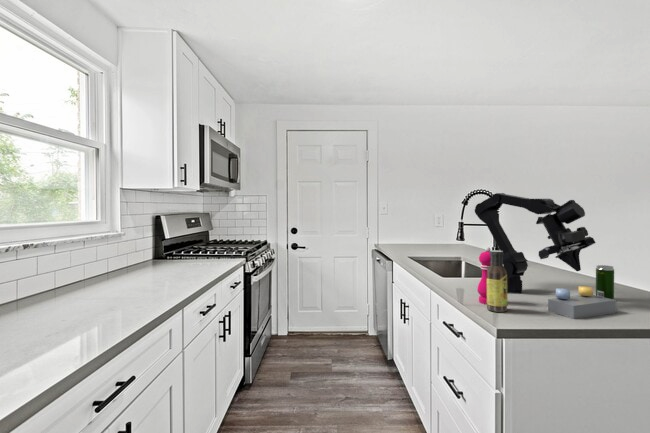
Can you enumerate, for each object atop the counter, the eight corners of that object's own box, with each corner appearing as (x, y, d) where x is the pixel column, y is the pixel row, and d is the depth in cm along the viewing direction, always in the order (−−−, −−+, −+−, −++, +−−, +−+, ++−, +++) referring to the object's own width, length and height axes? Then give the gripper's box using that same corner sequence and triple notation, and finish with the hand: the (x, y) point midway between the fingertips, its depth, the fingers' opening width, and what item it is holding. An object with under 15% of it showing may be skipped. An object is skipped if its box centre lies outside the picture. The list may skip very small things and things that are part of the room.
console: (573, 318, 116) (573, 305, 115) (548, 311, 124) (548, 299, 124) (616, 312, 121) (616, 300, 121) (588, 305, 130) (588, 293, 129)
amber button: (580, 305, 125) (580, 288, 125) (576, 302, 129) (577, 285, 129) (594, 306, 124) (594, 288, 124) (590, 303, 128) (590, 286, 127)
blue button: (557, 308, 122) (557, 290, 122) (554, 305, 126) (554, 288, 126) (571, 309, 121) (571, 291, 121) (568, 306, 125) (568, 288, 124)
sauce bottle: (508, 313, 122) (507, 252, 122) (487, 312, 125) (486, 251, 124) (506, 308, 128) (506, 250, 128) (486, 307, 130) (486, 249, 130)
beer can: (610, 301, 134) (610, 268, 133) (593, 298, 138) (593, 266, 138) (616, 299, 137) (616, 266, 136) (599, 296, 141) (599, 264, 141)
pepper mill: (498, 300, 139) (497, 246, 138) (500, 305, 132) (500, 248, 131) (476, 299, 141) (476, 245, 140) (478, 304, 134) (477, 248, 134)
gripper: (547, 226, 127) (570, 270, 121) (594, 215, 130) (619, 257, 124) (528, 238, 137) (549, 279, 131) (573, 227, 140) (595, 267, 134)
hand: (578, 270), depth 129 cm, fingers closed
